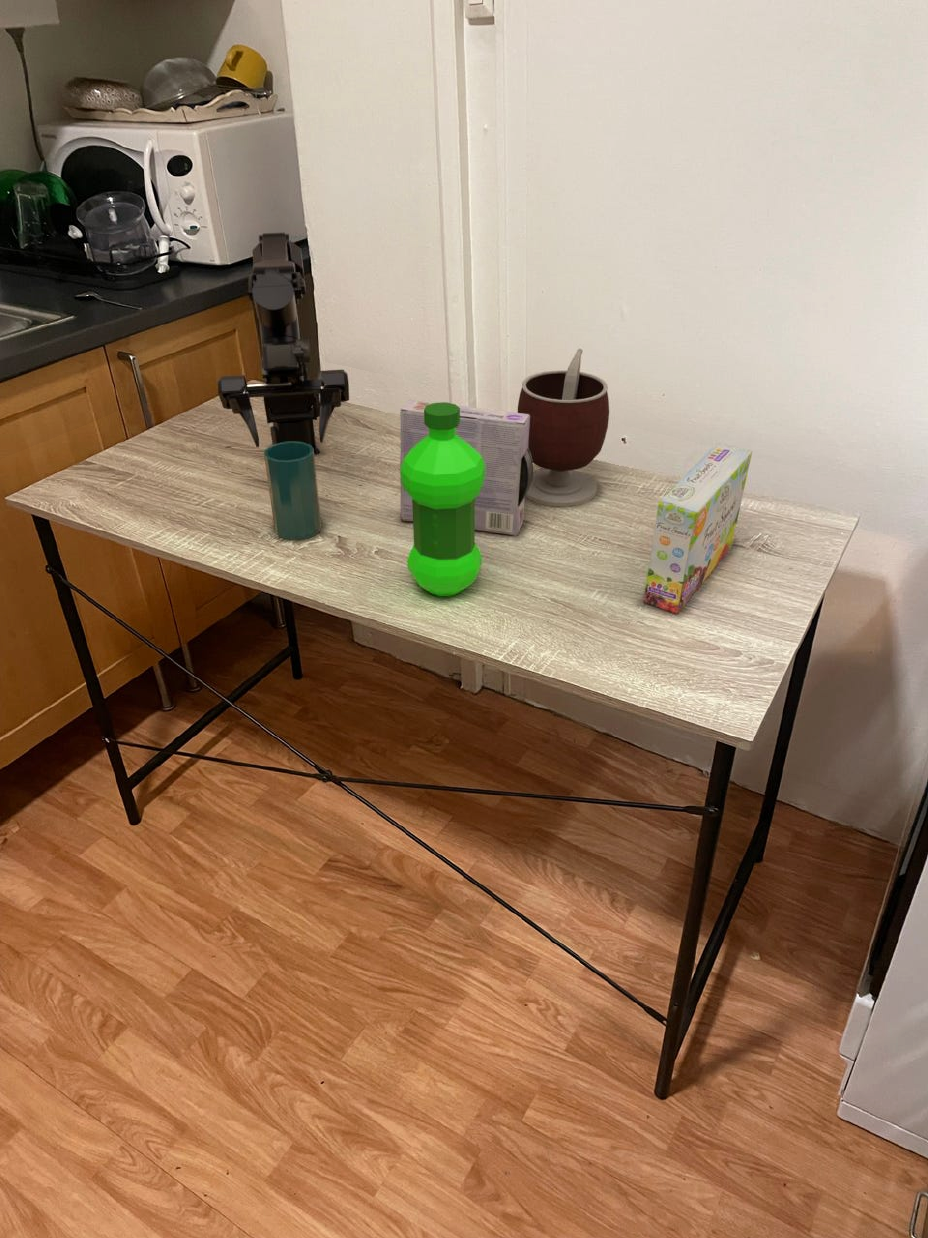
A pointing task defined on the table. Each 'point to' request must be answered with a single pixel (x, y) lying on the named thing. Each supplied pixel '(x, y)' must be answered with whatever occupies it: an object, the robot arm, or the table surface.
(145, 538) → the table surface
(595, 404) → the mate gourd
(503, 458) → the cake pan box
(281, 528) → the teal and beige cup
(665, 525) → the snack box
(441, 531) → the plastic bottle
